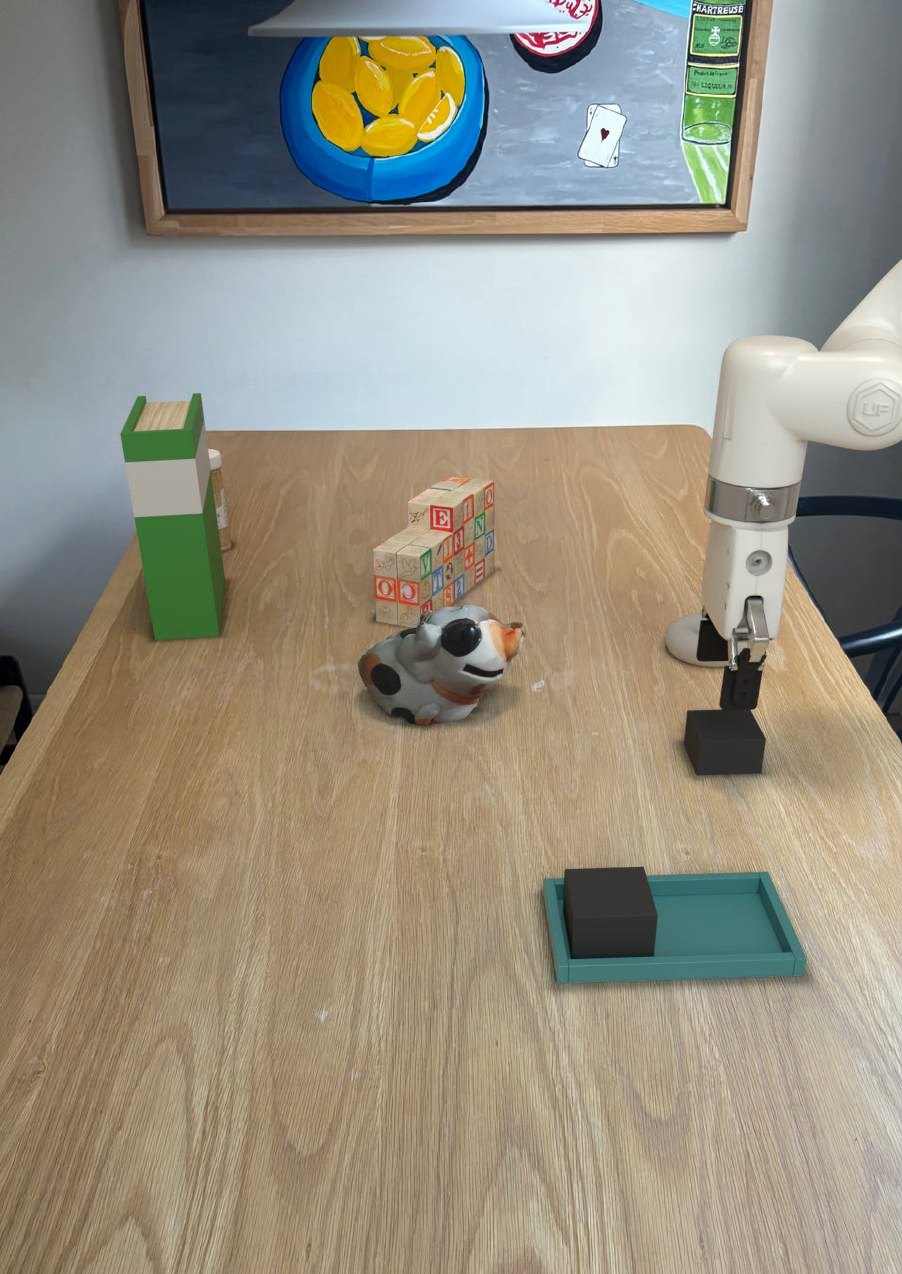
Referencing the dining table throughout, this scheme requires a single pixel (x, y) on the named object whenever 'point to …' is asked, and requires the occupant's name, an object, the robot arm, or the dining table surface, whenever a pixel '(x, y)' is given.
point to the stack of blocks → (436, 551)
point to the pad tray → (693, 932)
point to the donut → (691, 640)
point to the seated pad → (609, 913)
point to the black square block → (724, 742)
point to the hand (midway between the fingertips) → (724, 683)
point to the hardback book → (175, 516)
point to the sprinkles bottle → (219, 498)
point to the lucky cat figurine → (440, 664)
